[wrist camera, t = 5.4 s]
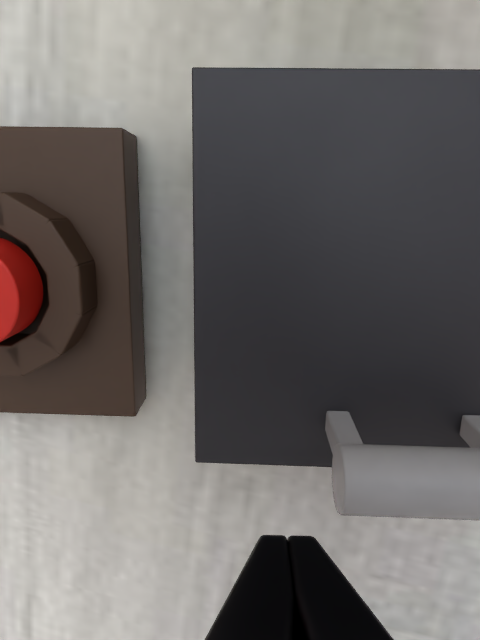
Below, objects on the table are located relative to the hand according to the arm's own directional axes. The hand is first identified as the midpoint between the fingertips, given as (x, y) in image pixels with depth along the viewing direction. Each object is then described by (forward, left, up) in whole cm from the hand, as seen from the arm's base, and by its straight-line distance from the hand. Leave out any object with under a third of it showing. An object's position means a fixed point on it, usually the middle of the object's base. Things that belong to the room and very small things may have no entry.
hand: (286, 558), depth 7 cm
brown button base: (-4, +9, -13) cm, 16 cm away
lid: (+5, -1, -7) cm, 9 cm away
